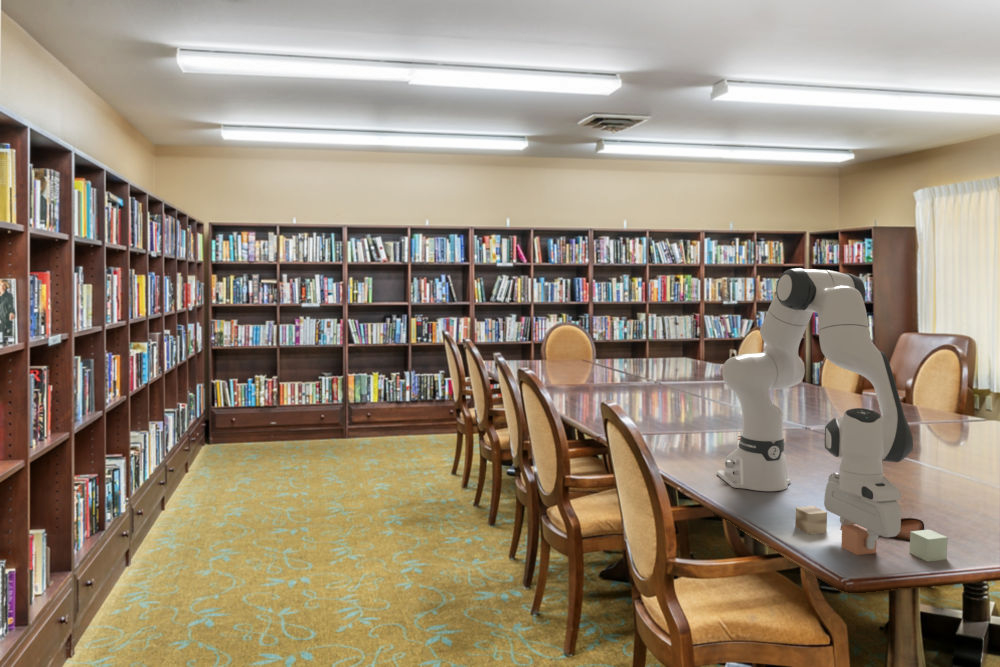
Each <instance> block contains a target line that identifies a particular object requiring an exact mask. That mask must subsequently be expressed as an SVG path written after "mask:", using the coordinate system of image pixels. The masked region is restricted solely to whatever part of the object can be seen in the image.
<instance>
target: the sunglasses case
mask: <svg viewBox="0 0 1000 667" xmlns="http://www.w3.org/2000/svg"><path fill="white" fill-rule="evenodd" d="M852 524H855V523H853V522H851V525H852ZM839 530H841V531H842V524H840V529H839ZM920 530H925V523H924V521H923V520H921V519H918V518H915V517H902V516H901V527H900V532H899V534H898V535H897V536H894V537H891V539H898V540H903V541H907V542H908V541H909V542H910V531H920ZM879 536H880V537H882V536H881V535H879Z"/></svg>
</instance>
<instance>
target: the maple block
mask: <svg viewBox="0 0 1000 667" xmlns="http://www.w3.org/2000/svg"><path fill="white" fill-rule="evenodd" d="M794 525H795V528H796V529H798V530H799V531H802V532H803V533H805V534H807V535H813V534H816V535H817V534H824V533H827V532H828V531H827V530H828V528H827V526H828V511H825V510H823V509H821V508H819V507H816V506H814V505H811V506H798V507H795V524H794Z"/></svg>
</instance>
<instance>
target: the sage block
mask: <svg viewBox="0 0 1000 667" xmlns="http://www.w3.org/2000/svg"><path fill="white" fill-rule="evenodd" d="M909 554H911V555H912V556H915V557H917V558H919V559H920V560H923V561H926V562H934V561H943V560H947V559H948V536H946V535H943V534H940V533H938V532H936V531H934V530H931V529H924V530H920V531H910V541H909Z"/></svg>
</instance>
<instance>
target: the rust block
mask: <svg viewBox="0 0 1000 667" xmlns="http://www.w3.org/2000/svg"><path fill="white" fill-rule="evenodd" d="M868 536H869V534H867V529H866V528H863V527H861V526H859V525H857V524H852V525H843V526H842V530H841V545H840V546H841V548H843V549H845V550H847V551H848V552H849V553H852V554H854V555H855V556H860V555H869V554H871V555H872V554H877V540H878V539H877V540H876V541H875V548H874V549H868V548H866V547H864V539H867V538H868Z"/></svg>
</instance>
